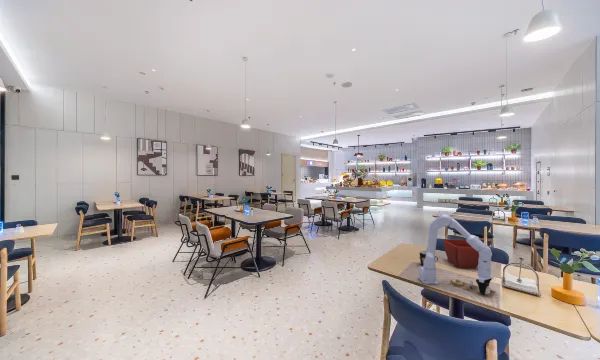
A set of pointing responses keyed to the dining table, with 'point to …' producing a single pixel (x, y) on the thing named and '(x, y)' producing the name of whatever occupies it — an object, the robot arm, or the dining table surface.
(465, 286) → the walnut gear board
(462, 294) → the dining table surface
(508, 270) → the dining table surface
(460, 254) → the plant pot
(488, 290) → the cream gear ring
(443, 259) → the dining table surface
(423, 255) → the coffee mug
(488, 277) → the robot arm
